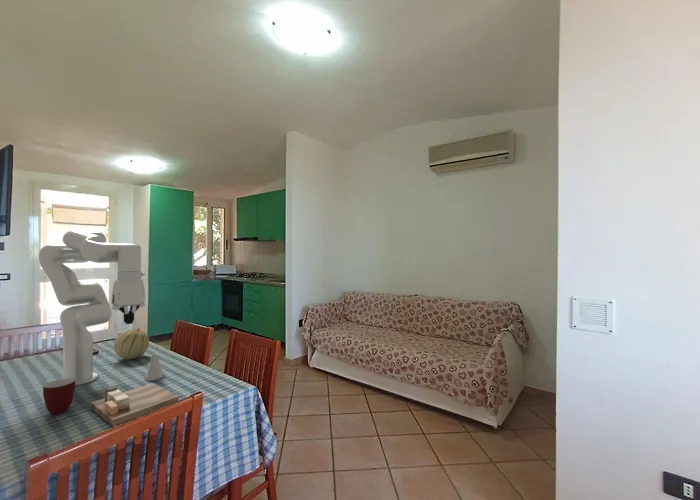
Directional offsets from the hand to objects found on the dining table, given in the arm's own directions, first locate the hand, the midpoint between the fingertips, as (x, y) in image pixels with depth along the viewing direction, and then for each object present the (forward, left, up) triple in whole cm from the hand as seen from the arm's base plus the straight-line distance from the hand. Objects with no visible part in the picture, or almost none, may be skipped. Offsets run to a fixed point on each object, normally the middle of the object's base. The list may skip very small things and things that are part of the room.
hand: (128, 323), depth 124 cm
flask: (-7, +12, -27) cm, 30 cm away
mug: (-3, -20, -27) cm, 34 cm away
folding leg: (+12, -8, -24) cm, 28 cm away
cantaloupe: (-44, +17, -27) cm, 55 cm away
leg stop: (+17, -11, -25) cm, 32 cm away
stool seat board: (+14, -3, -27) cm, 30 cm away
